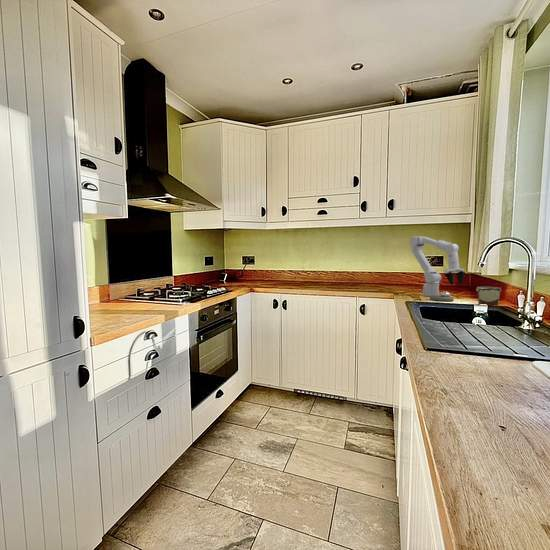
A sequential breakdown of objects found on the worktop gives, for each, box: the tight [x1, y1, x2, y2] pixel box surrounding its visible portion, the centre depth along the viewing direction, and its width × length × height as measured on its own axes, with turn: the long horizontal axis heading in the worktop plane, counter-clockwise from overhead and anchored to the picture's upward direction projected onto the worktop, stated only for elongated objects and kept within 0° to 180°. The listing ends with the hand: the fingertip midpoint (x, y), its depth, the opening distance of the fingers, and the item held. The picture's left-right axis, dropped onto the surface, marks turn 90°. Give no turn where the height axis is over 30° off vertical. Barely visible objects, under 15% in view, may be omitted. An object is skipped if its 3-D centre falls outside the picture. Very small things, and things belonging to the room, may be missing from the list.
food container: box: [475, 286, 502, 306], centre depth 169 cm, size 12×6×10 cm, turn 84°
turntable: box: [429, 294, 455, 302], centre depth 188 cm, size 13×13×2 cm
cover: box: [440, 290, 451, 297], centre depth 189 cm, size 5×5×3 cm
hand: (456, 283), depth 190 cm, fingers open, 7 cm apart
